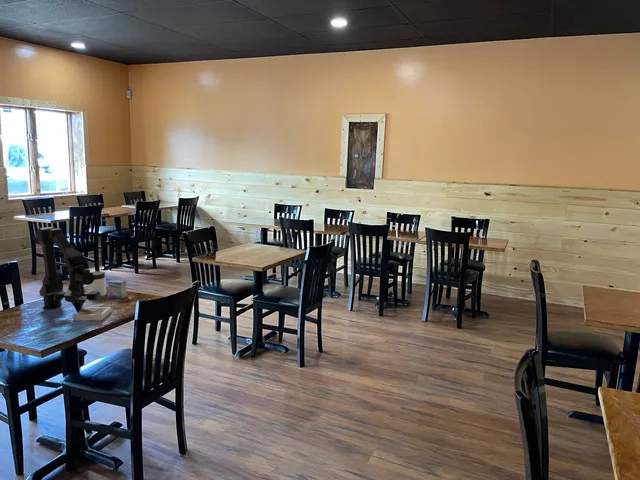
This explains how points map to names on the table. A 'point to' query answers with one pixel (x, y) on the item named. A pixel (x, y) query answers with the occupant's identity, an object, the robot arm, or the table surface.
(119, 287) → the medicine box
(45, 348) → the table surface
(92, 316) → the frame
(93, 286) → the jar
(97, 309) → the grey beige block
